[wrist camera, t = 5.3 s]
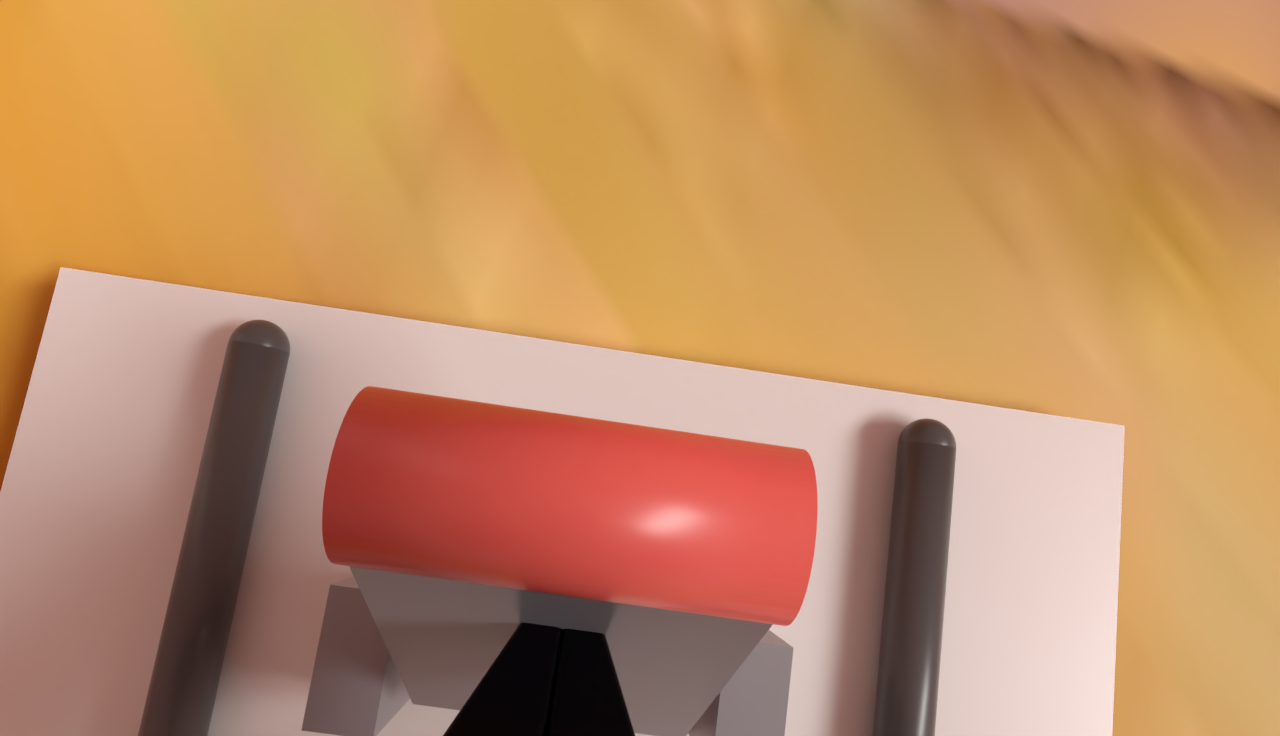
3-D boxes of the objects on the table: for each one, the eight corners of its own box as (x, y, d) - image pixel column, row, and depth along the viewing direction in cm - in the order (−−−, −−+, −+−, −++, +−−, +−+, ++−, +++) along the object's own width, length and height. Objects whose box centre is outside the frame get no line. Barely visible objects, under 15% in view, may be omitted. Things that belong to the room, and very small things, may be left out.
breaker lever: (676, 760, 12) (820, 588, 6) (413, 726, 12) (307, 517, 6) (683, 654, 13) (814, 415, 7) (438, 621, 13) (368, 350, 7)
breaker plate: (1055, 1087, 15) (1214, 1287, 11) (-74, 955, 14) (-318, 1121, 10) (1086, 430, 17) (1230, 411, 13) (99, 284, 16) (-51, 218, 12)
